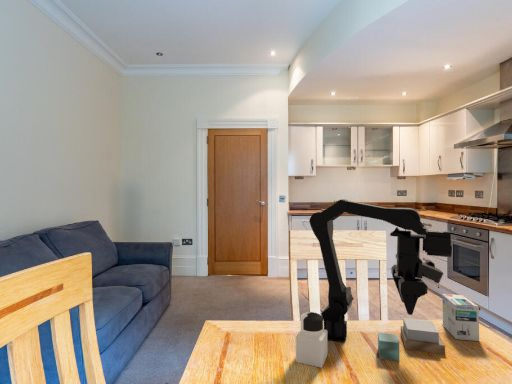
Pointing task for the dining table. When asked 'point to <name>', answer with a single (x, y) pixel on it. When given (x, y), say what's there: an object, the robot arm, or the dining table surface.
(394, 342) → the teal block
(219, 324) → the dining table surface
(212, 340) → the dining table surface
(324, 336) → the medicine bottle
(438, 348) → the walnut slab
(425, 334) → the grey slab
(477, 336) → the light bulb box
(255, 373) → the dining table surface
